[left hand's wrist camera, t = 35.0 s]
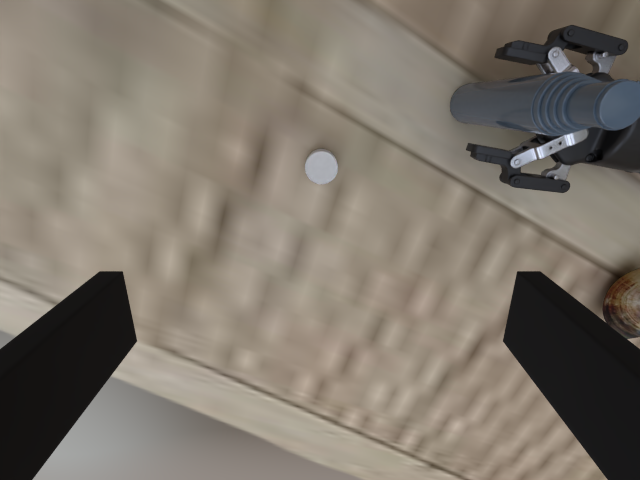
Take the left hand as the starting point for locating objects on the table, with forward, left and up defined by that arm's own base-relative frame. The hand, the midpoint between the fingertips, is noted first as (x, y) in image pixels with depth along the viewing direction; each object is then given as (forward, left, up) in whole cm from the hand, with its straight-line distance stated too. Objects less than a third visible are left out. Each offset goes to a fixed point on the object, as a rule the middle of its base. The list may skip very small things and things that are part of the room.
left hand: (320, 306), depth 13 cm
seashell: (+11, +41, -33) cm, 54 cm away
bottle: (-9, +15, -33) cm, 38 cm away
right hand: (-9, +14, -26) cm, 31 cm away
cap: (0, 0, -31) cm, 31 cm away
